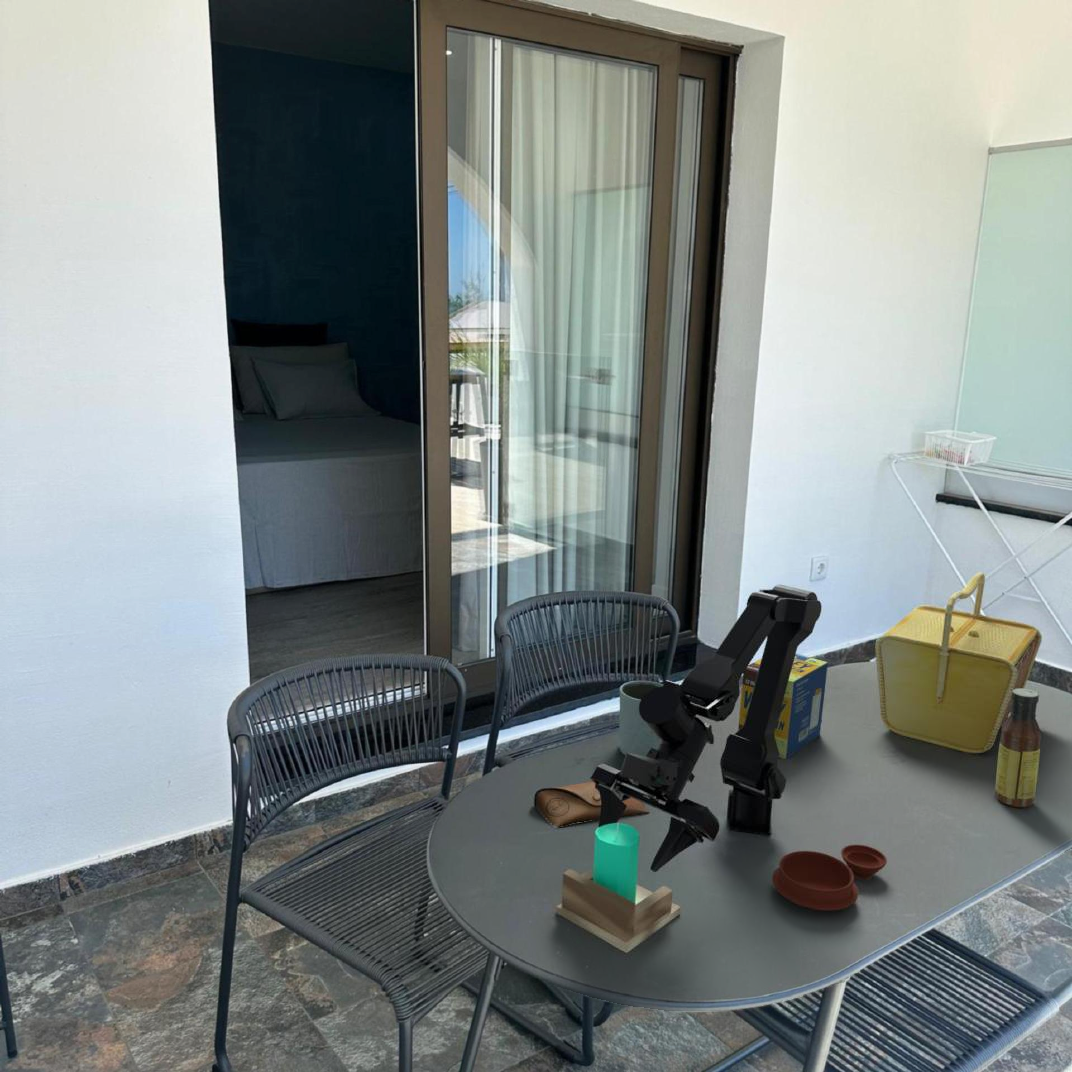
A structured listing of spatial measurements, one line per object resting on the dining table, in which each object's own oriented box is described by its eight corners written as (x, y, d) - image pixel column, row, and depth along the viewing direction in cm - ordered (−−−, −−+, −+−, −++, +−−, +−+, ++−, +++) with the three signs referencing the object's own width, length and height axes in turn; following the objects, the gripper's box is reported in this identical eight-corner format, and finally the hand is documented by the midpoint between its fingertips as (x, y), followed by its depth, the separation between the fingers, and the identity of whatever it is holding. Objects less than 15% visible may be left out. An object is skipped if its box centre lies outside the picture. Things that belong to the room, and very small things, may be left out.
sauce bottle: (1032, 797, 169) (1049, 689, 164) (1034, 812, 163) (1051, 702, 159) (991, 788, 171) (1007, 682, 167) (991, 803, 166) (1007, 694, 161)
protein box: (735, 743, 186) (742, 667, 183) (773, 719, 198) (780, 647, 194) (786, 760, 180) (793, 681, 176) (821, 735, 191) (829, 660, 188)
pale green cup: (615, 737, 187) (618, 679, 184) (667, 739, 187) (671, 681, 184) (617, 761, 177) (621, 699, 174) (673, 763, 177) (677, 702, 174)
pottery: (753, 890, 138) (756, 862, 138) (842, 850, 150) (845, 824, 149) (819, 933, 129) (823, 904, 128) (909, 887, 141) (913, 859, 140)
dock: (611, 877, 140) (613, 840, 139) (680, 913, 132) (683, 873, 131) (556, 912, 131) (557, 873, 130) (626, 953, 124) (629, 911, 122)
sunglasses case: (552, 830, 152) (545, 787, 154) (537, 832, 159) (531, 790, 161) (653, 812, 159) (646, 771, 161) (635, 814, 165) (628, 775, 167)
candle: (593, 915, 129) (597, 834, 127) (590, 889, 135) (593, 811, 133) (638, 916, 130) (643, 835, 127) (632, 890, 135) (637, 812, 133)
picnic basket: (904, 688, 218) (920, 559, 211) (1030, 718, 203) (1052, 580, 196) (863, 730, 194) (879, 586, 188) (1002, 767, 180) (1025, 612, 173)
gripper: (600, 710, 137) (546, 809, 131) (713, 752, 124) (658, 863, 119) (632, 744, 144) (581, 839, 139) (741, 787, 132) (690, 893, 127)
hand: (624, 857), depth 131 cm, fingers open, 9 cm apart
